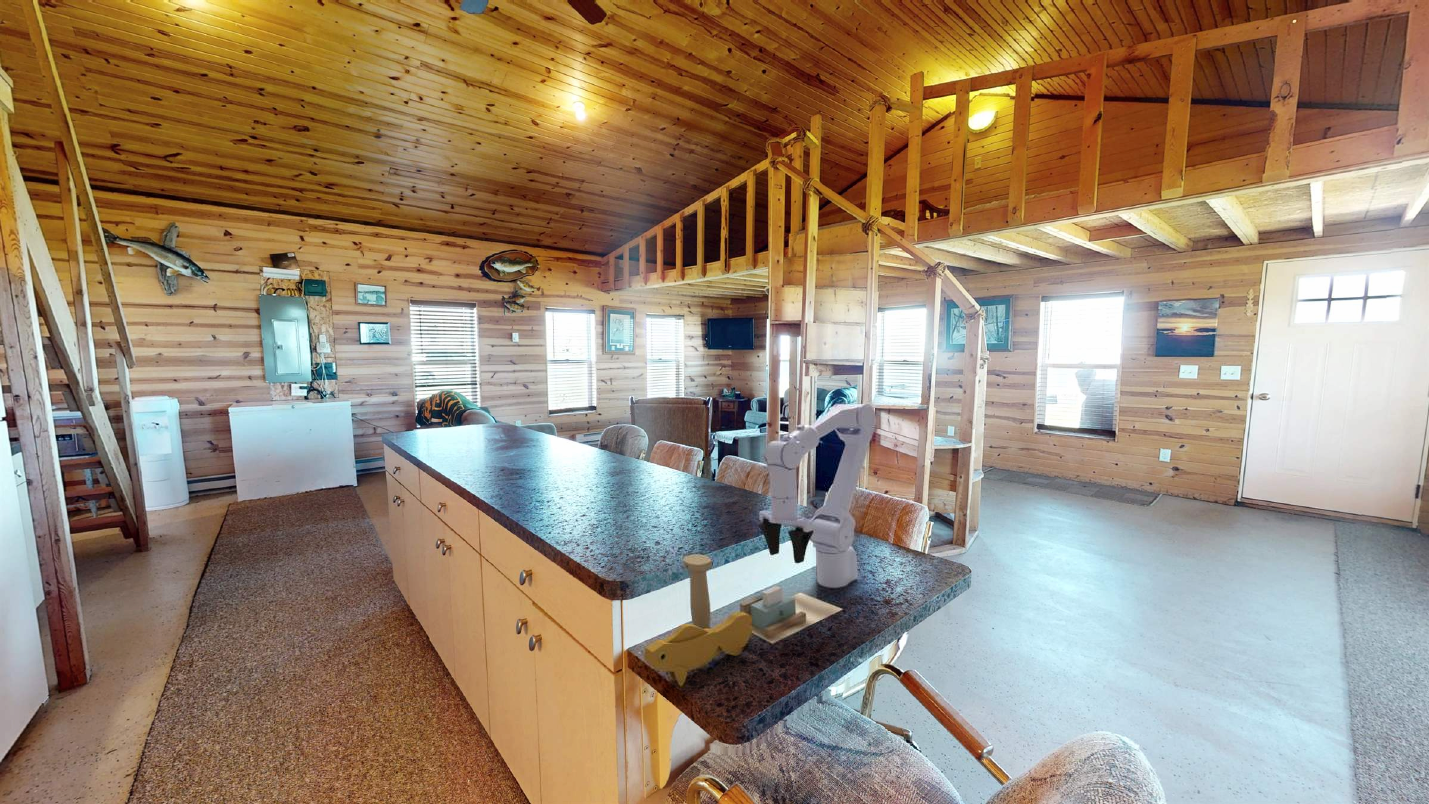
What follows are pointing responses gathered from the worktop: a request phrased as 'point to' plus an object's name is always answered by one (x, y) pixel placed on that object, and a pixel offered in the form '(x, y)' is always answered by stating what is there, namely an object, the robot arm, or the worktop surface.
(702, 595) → the handle
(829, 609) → the cleat board
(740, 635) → the decorative fish
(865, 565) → the worktop surface
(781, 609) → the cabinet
